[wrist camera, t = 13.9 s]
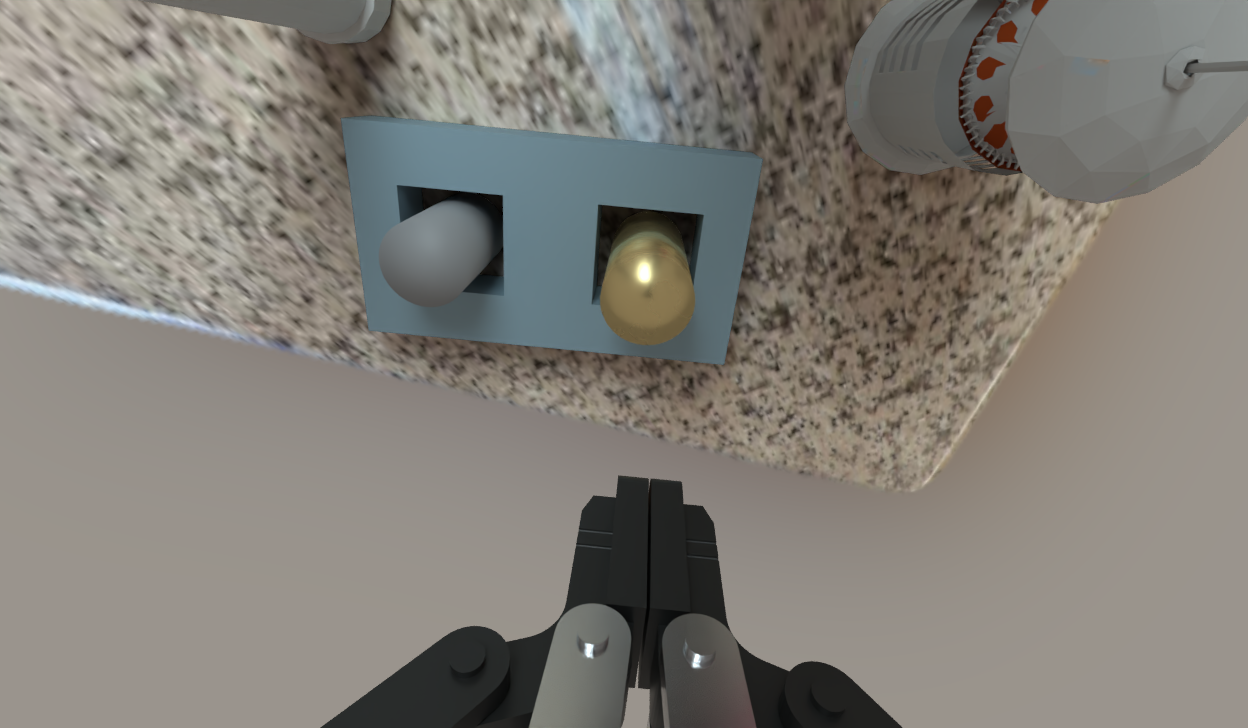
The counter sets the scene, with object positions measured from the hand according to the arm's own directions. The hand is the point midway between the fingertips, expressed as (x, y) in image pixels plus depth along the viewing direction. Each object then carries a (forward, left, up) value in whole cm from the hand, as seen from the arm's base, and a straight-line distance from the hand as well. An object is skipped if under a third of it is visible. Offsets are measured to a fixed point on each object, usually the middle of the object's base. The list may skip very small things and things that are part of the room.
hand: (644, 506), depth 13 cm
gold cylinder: (0, 0, -24) cm, 24 cm away
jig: (0, -6, -24) cm, 24 cm away
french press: (-11, +15, -24) cm, 31 cm away
